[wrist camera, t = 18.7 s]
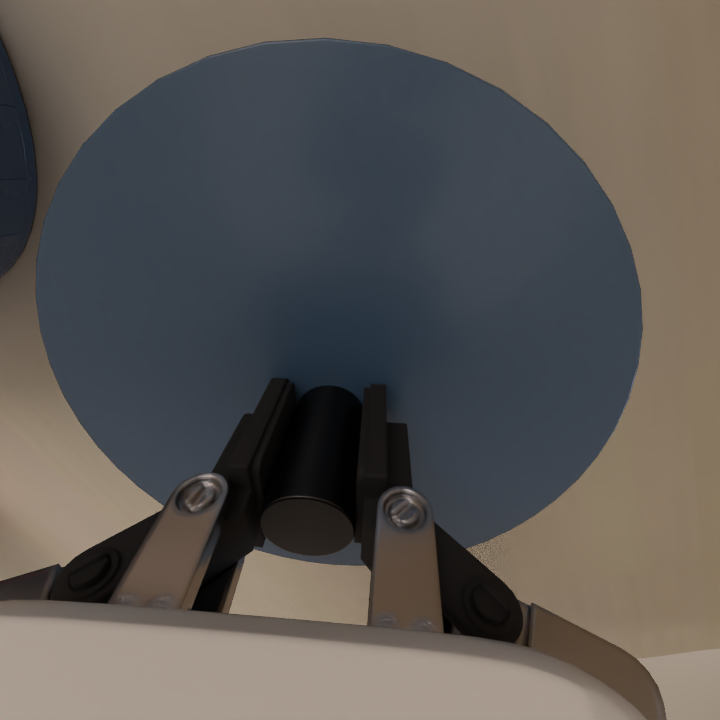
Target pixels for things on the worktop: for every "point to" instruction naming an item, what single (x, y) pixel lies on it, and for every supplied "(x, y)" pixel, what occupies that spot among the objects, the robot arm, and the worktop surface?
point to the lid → (340, 286)
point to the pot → (14, 168)
